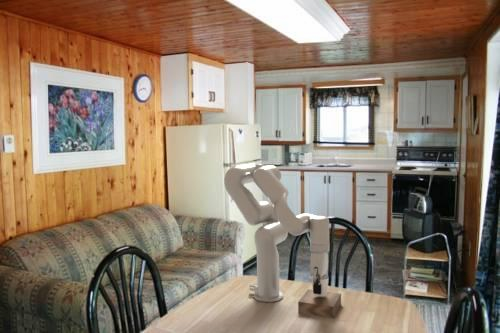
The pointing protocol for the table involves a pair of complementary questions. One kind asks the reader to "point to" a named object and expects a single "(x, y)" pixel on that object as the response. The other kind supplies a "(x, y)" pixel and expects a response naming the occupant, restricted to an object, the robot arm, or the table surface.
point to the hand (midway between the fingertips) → (320, 290)
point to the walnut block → (319, 304)
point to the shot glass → (322, 285)
